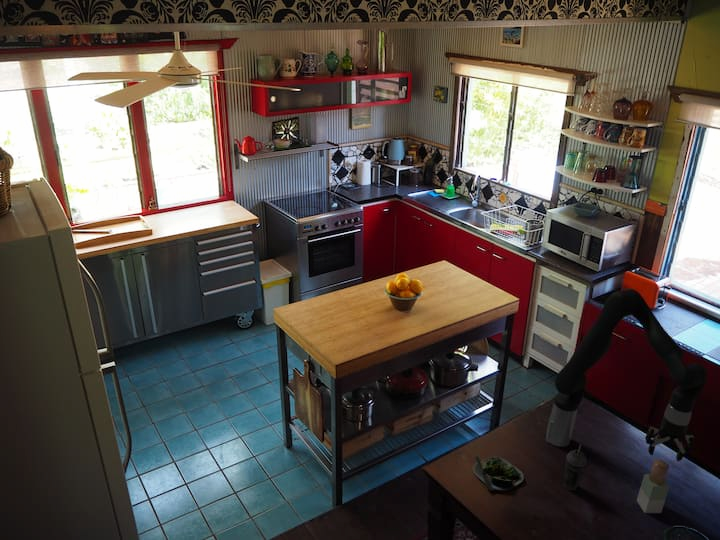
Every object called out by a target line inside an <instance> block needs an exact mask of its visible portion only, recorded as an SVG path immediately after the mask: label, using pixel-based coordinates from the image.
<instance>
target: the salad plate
mask: <svg viewBox="0 0 720 540" xmlns="http://www.w3.org/2000/svg"><path fill="white" fill-rule="evenodd" d="M474 462H475V464H474V465H473V473H474V475H475V476H476V477H477V478H478V479H479V480H480V481H482V483H484V485H485V486H486V487H487V488H488V490H489V491H494V492H500V493H507V492H509V490H510V491H512V490H514V489H516V488H517V487H519V486H521V485H522V484H523V483H524V482H525V476H524V473H523V472H522V470H520V469H518V467H515V465H513V464H511V462H510V461H508V460H507V459H505V458H503V457H500V456H490V457H487V458H485V459H484V460H481V459H480V458H479V456H477V455H475V456H474ZM502 466H503V467H502ZM486 474H488V475H490V476H491V477H488V476H486ZM513 480H516V481H515V483H513ZM506 491H507V492H506Z"/></svg>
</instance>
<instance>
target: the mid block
mask: <svg viewBox="0 0 720 540" xmlns="http://www.w3.org/2000/svg"><path fill="white" fill-rule="evenodd" d="M649 476H650V473H645V474H644V475H643V478H642V482H641V485H640V488H641V489H642V490H643V492H644V493H645V495H646V496H647V498H648V499H649V500H665V501H666V499H667V496H668V493H669V490H670V487H671V486H670V484H669V483H668V482H667V480H665V481H664V484H663V485H657V484H654V483H653V482H651V481H650V479H649Z"/></svg>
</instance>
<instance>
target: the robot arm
mask: <svg viewBox="0 0 720 540" xmlns="http://www.w3.org/2000/svg"><path fill="white" fill-rule="evenodd" d="M629 316H632V317H633V318H634V319H636V321H638V323H639V324H640V325H641V327H642V329H643V331H644V333H645V337H646V339H647V341H648V344H649V346H650V348H651V349H652V350H653V351H654V353H655V354H656V355H657V357H659V358H660V359H661V361H662V362H663V363H664V365H665V367H666V369H667V371H668V374H669V376H670V377H671V379H672V380H673V382H674V383H675V384H676V385H677V387H676V388H674V389H673V390H672V392H671V395H670V398H669V401H668V404H667V406H666V408H665V411H664V414H663V418H662V420H661V424H660V427H658V428H656V427H654V426H653V425H650V426H649V428H648V430H647V433H646V434H645V437H644V439H645V443H646V444H647V445H649V446H648V448H647V451H648V454H649V455H650V456H653V455H654V452H655V450H656V449H655V448H656V446H658V445H662V444H663V443H664V444H667V445H671V446H675V445H677V448H678V451H677V454H676V457H675V460H676V461H677V462H680V461H683V457H684V455H685V453H688V454H692V452H693V448H694V444H695V437H694V435H693V434H692V433H690V434H689V435H688V434H686V433H687V429H688V427H689V423H690V421H691V418H692V412H693V409H694V406H695V403H696V399H697V398H698V396H699V395H700V393H701V391H702V390H703V389H704V387H705V385H706V382H707V379H708V373H707V370H706V368H705V367H704V366H703V365H702V364H699V363H698V362H694V363H693V362H692V363H688V364H685V362H684V361H683V358H684V357H685V352H684V351H683V349H682V347H680V345H678V343H677V342H676V341H675V339H673V338H672V337H671V335H670V334H669V333H668V332H667V331H666V329H664V327H663V325H662V324H661V323H660V321H659V320H658V319H657V317H656V315H655V314H654V313H653V311H652V310H651V308H650V306H649V304H648V302H647V301H646V300H645V298H644V297H643V296H642V295H641V293H640V292H639V291H637V290H636V289H633V288H627V289H626V288H625V289H621V290H617V291H614V292H612V293H611V294H610V295H609V296H608V297H607V299H606V301H605V302H604V305H603V307H602V309H601V311H600V312H599V314H598V316H597V318H596V319H595V321H594V322H593V324H592V325H591V327H590V328H589V329H588V331H587V332H586V334H585V335H584V336H583V338H582V340H581V341H580V343H579V345H578V346H577V348H576V349H575V351H574V352H573V354H572V356H571V357H570V359H568V361H567V363H566V364H565V365H564V366H563V367H562V369H560V371H558V372H557V374H556V376H555V379H554V386H555V389H556V390H557V392H558V393H556V394H555V397H554V400H553V404H552V409H551V414H550V415H549V420H548V425H547V428H546V429H547V430H546V438H545V439H546V443H549V444H551V445H552V446H556V447H558V448H560V447H561V448H565V447H567V446H569V445H570V442H571V437H572V435H573V429H574V426H575V420H576V418H577V412H578V408H579V405H580V404H581V402H582V400H583V397H584V393H585V392H586V387H587V376H586V374H585V373H586V372H588V370H590V369H591V368H592V367H594V366H595V365H596V364H597V363H598V362H599V361H600V360H601V359H602V358H603V357H604V356H605V354H607V351H608V350H609V349H610V347H611V345H612V343H613V335H614V334H613V333H614V331H615V329H616V328H617V326H618V324H619V323H620V322H621V321H622V320H623V319H624V318H626V317H629ZM656 434H657V435H656ZM654 436H655V437H654ZM684 440H686V442H687V443H686V446H684V445H683V443H682V442H683V441H684Z"/></svg>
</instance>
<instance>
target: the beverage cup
mask: <svg viewBox="0 0 720 540" xmlns="http://www.w3.org/2000/svg"><path fill="white" fill-rule="evenodd" d="M581 447H582V443H580V444H579V446H578V449H574V450H570V452H568V454H567V455H566V456H565V469H564V477H563V487H564V488H565V489H566V490H568V491H571V492H572V491H576V490H577V488H578V486H579V483H580V480H581V478H582V475H583V472H584V470H586V469H585V468H586V467H587V456H586V455H585V454H584V453H583V452H582V451H581Z"/></svg>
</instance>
